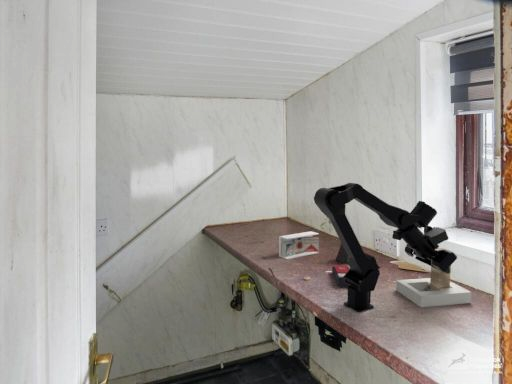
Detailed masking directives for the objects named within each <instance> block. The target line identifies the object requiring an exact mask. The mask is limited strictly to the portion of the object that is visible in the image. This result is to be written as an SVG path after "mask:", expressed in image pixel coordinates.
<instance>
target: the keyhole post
mask: <svg viewBox="0 0 512 384" xmlns="http://www.w3.org/2000/svg"><path fill="white" fill-rule="evenodd" d="M444 249H446V250H448V251H451V252H453V251H452V250H450V249H447V248H444V247H438V248H437V249H435V250H436V251H439V250H444ZM431 265H432V260H431ZM449 269H450V273H449V274H447V273H445V272H443V271H440V270H438V269H436V268H434V267H431V266H430V278H431V279H430V288H425V291H438V290H440V289H442V288H450V281H451V274H452V272H451V271H452V270H451V269H452V265H451V266H450V267H449Z"/></svg>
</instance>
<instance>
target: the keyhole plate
mask: <svg viewBox="0 0 512 384" xmlns="http://www.w3.org/2000/svg"><path fill="white" fill-rule="evenodd" d="M430 279H431V277H422V278H413V279H412V278H411V279H408V278H407V279H398V280H396V283H395V284H396V285H395V291H396V292H397V293H399V294H401V295H402V296H404V297H405V298H406V299H408V300H410V301H411V302H412V303H414V304H415V305H417V306H418V307H419V308H426V307H428V308H429V307H439V306H440V307H441V306H451V305H452V306H453V305H463V304H471V303H472V291H470V290H468V289H466V288H465V287H463V286H460V285H459V284H456V283H454V282H453V281H451V280H450V288H442V289H440V290H438V291H425V288H430Z"/></svg>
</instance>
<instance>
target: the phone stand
mask: <svg viewBox="0 0 512 384" xmlns="http://www.w3.org/2000/svg"><path fill="white" fill-rule="evenodd" d="M335 260H336V261H337V262H339V263H341V264H343V265H347V264H348V265H349V256H348V254H347V252H346V250H345V248H344V246H343V245H342V243H340V246H339V250H338V252H337V255H336V257H335Z"/></svg>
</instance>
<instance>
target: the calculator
mask: <svg viewBox="0 0 512 384" xmlns="http://www.w3.org/2000/svg"><path fill="white" fill-rule="evenodd" d="M331 268H332V270H331V272H332V273H331V274H332V276H333V278H334V280H335V284H336V286H337V287H338V288H348V286H349V284H347V283H345V281H344V278H343V277H344V275H345V274H346V273H347V272H348V271H349V269H350V267H349V265H345V264H343V265H341V264H340V265H339V264H338V265H336V264H335V265H333V266H331ZM360 281H361V280H360Z"/></svg>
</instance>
